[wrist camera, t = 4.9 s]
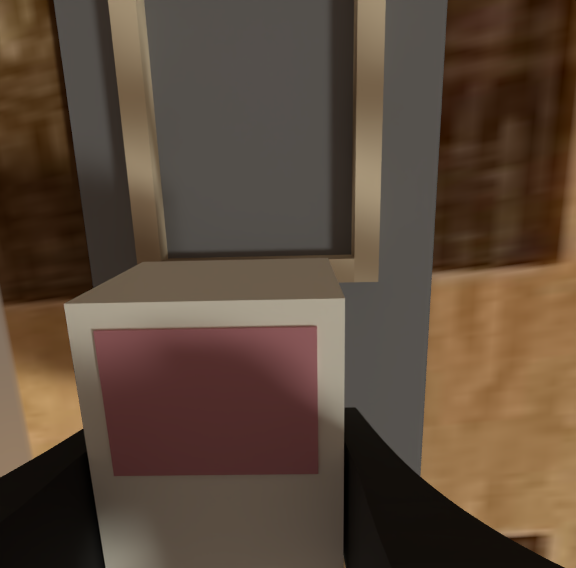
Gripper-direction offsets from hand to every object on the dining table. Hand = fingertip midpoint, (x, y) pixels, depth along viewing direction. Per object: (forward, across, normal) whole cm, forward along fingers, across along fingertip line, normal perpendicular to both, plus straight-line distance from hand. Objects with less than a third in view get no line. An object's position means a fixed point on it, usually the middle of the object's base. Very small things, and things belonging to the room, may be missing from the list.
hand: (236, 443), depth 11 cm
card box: (+2, 0, 0) cm, 2 cm away
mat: (+9, 0, -4) cm, 10 cm away
